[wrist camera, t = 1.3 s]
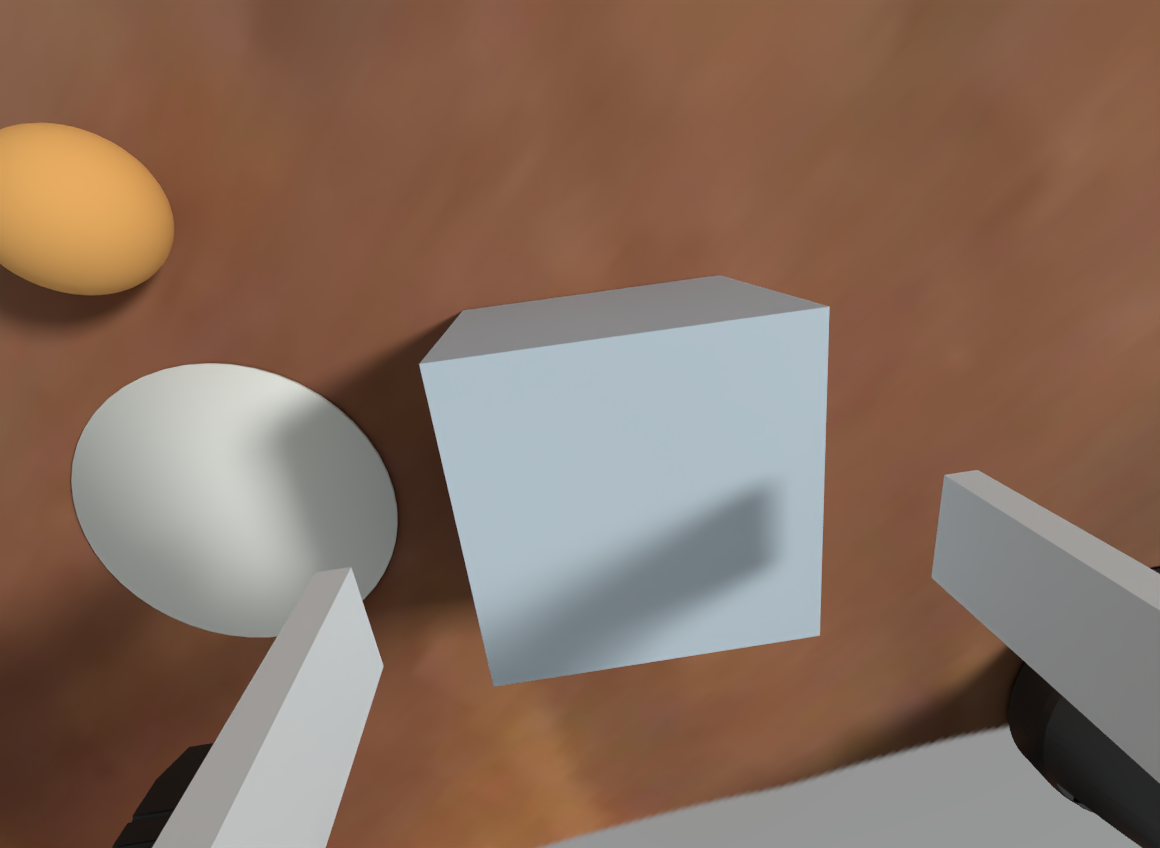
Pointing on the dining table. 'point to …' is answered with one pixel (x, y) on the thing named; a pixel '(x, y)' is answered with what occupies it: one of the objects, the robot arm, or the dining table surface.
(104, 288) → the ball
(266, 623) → the white plate
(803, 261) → the dining table surface
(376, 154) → the dining table surface
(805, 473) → the pale blue cuboid
